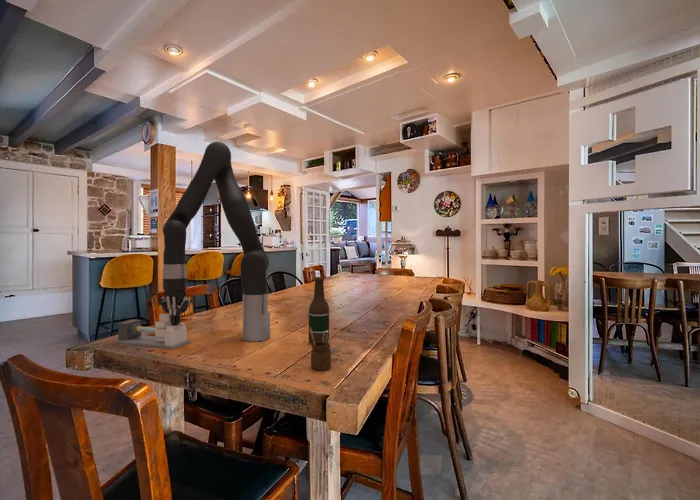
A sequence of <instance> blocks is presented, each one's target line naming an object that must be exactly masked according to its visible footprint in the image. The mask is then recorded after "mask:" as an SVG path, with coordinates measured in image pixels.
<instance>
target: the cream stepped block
mask: <svg viewBox="0 0 700 500" xmlns="http://www.w3.org/2000/svg"><path fill="white" fill-rule="evenodd" d="M158 316H159V320H158V321H155V322H154V328H155V333H154V337H155V340H161V341H165V330H166V326H172V325H171V322H170V320H171V319H170V314H169V313H160V314H158Z"/></svg>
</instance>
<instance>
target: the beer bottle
mask: <svg viewBox="0 0 700 500" xmlns="http://www.w3.org/2000/svg"><path fill="white" fill-rule="evenodd" d="M313 281H314V290H313V291H314V292H313V298H312V299H313V300H312V301H311V303H310V304H309V308H308V343H309V344H310V345H313V343H314V342H320V341H323V342H328V343H329V341H330V305H329V304H328V302H327V300H326V298H325V297H326V296H325V287H324V281H325V278H324V277H323V276H316V277H314V280H313ZM310 327H311V330H312V333H313V338H314V342H313V339H312V335H311V331H310ZM326 330H328V331H327V332H328V333H327V332H325V331H326ZM323 334H325V335H323ZM327 335H328V336H327ZM326 337H327V338H326ZM326 340H327V341H326ZM328 340H329V341H328Z"/></svg>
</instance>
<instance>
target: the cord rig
mask: <svg viewBox="0 0 700 500" xmlns="http://www.w3.org/2000/svg"><path fill="white" fill-rule="evenodd" d="M117 324H118V325H117V326H118V328H117V331H118V335H117V336H118V339H115V340H114V343H116V344H123V345H134V346H144V347H153V348H162V349H172V350H175V349H177V348H179V347H181V346H185V345H186V344H190V343H191V339H187V326H186V323H185V322H180V323H179V325H177V326H166V330H165V341H161V340H155V335H154V336H153V335H152V336H150V335H142V332H143V333H152V334H155V327H151V326H142V320H141V319H128V320H124V321H121V322H117Z"/></svg>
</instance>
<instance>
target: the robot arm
mask: <svg viewBox="0 0 700 500" xmlns="http://www.w3.org/2000/svg"><path fill="white" fill-rule="evenodd" d="M232 165H233V164H232V152H231V149H230V148H229V147H228V145H227V144H226V143H224V142H221V141H214V142H210V143H209V144H208V145H207V146H206V148H205V149H204V154H203V157H202V159H201V162H200V164H199V166H198V168H197V170H196V172H195V174H194V176H193V178H192V180H191V181H190V182H189V184H188V185H187V187H186V190H185V191H184V192H183V194H182V196H181V197H180V199H179V200H178V202H177V204H176V205H175V208H174V210H173V211H172V213H171V214H170V216H169V217H168V219H167V220H166V221H165V223H164V224H163V227H162V233H163V236H164V237H163V239H164V240H163V241H164V249H163V254H162V255H163V256H162V257H163V261H162V263H163V265H162V266H163V267H162V290H163V291H164V292H163V296H162V297H161V298H158V299H157V301H158V303H159V305H160V306H161V308H162V310H163V311H164V314H170V319H171V320H170V322H171V325H172V326H175V327H176V326H177V325H179V323H181V314H184V313H186V311H187V310H188V308H189V307H190V305H191V304H192V303H193V299H190V298H188V297H187V293H186V290H187V288H188V287H187V286H188V285H187V266H186V244H187V243H186V242H187V228H188V226H189V225H190V223H191V221H192V220H193V219H194V218H195V217H196V215H197V214H198V212H199V210H200V209H201V207H202V205H203V203H204V201H206V198H207V194H208V192H209V190H210V188H211V187H212V183H213V182H215V185H216V186H217V187H216V188H217V191H218V196H219V199H220V203H221V206H222V210H223V213H224V216H225V218H226V222H227V223H228V225H229V227H230V228H231V231H232V232H233V233H234V235H235V237H236V238H237V240H238V241H239V243H240V246H241V249H242V252H243V256H242V258H241V260H240V287H241V289H242V340H243V341H246V342H263V341H266V340H267V339H269V338H270V337H271V313H270V312H269V309H268V307H269V304H268V303H269V301H268V300H269V299H268V298H269V288H268V285H267V270H268V268H269V265H270V259H269V256H268V255H267V253H266V251H265V248H264V247H263V244H262V243H261V241H260V238H259V235H258V230H257V228H256V224H255V222H254V221H255V220H254V218H253V215H252V212H251V209H250V206H249V203H248V201H247V199H246V197H245V193H243V191H242V189H241V188H240V186H239V184H238V182H237V180H236V178H235V173H234V170H233V166H232Z"/></svg>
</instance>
